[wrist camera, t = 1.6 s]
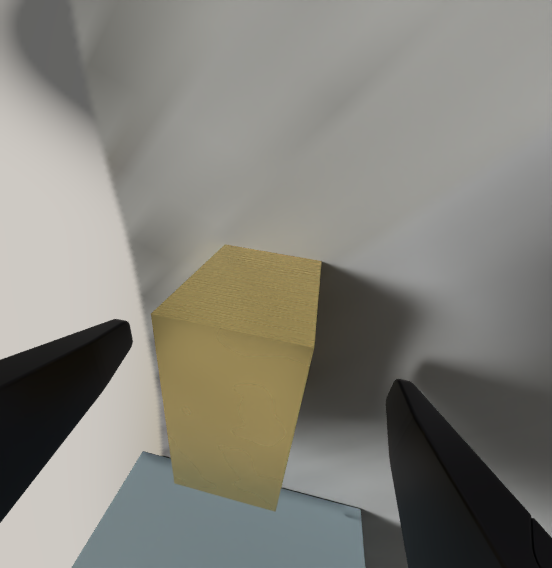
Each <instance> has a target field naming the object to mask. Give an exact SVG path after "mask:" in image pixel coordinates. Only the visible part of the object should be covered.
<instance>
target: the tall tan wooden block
mask: <svg viewBox="0 0 552 568" xmlns="http://www.w3.org/2000/svg"><path fill="white" fill-rule="evenodd" d="M320 273H321V261H317V260H311V259H306V258H300V257H294V256H288V255H283V254H277V253H271V252H265V251H259V250H254V249H248V248H242V247H236V246H230V245H224V246H223V247H222V248H221V249H220V250H219V251H218V252H217V253H216V254H214V255H213V256H212V257H211V258H210V259H209V260H208V261H207V262H206V263H205V264H204V265H203V266H202V267H201V268H199V269H198V270H197V271H196V272H195V273H194V274H193V275H192V276H191V277H190V278H189V279H188V280H187V281H186V282H184V283H183V284H182V285H181V286H180V287H179V288H178V289H177V290H176V291H175V292H174V293H173V294H172V295H171V296H170V297H168V298H167V299H166V300H165V301H164V302H163V303H162V304H161V305H160V306H159V307H158V308H157V309H156V310H155V311H153V312H152V313H151V317H152V325H153V332H154V339H155V346H156V354H157V361H158V368H159V375H160V383H161V390H162V397H163V404H164V412H165V419H166V426H167V433H168V441H169V448H170V455H171V462H172V470H173V477H174V483H175V484H178V485H182V486H185V487H189V488H192V489H196V490H200V491H203V492H207V493H210V494H214V495H217V496H221V497H224V498H228V499H232V500H235V501H239V502H242V503H246V504H249V505H253V506H257V507H260V508H264V509H267V510H271V511H274V512H276V508H277V504H278V499H279V495H280V491H281V487H282V482H283V478H284V474H285V470H286V465H287V461H288V457H289V453H290V448H291V444H292V440H293V436H294V431H295V427H296V423H297V419H298V414H299V410H300V406H301V402H302V397H303V393H304V389H305V385H306V380H307V376H308V372H309V368H310V363H311V359H312V355H313V351H314V344H315V332H316V320H317V308H318V297H319V285H320Z"/></svg>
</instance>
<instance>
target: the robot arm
mask: <svg viewBox="0 0 552 568" xmlns="http://www.w3.org/2000/svg"><path fill="white" fill-rule="evenodd" d="M132 342H133V340H132V334H131V329H130V325H129V323H128V322H127V321H124V320H119V319H113V320H110V321H108V322H105V323H102V324H99V325H96V326H94V327H91V328H88V329H85V330H83V331H80V332H77V333H74V334H71V335H68V336H66V337H63V338H60V339H57V340H54V341H52V342H49V343H46V344H43V345H41V346H38V347H35V348H32V349H29V350H27V351H24V352H21V353H18V354H15V355H13V356H10V357H7V358H4V359H1V360H0V523H1V521H2V520H3V519H4V517H5V516H6V515H7V514H8V512H9V511H10V510H11V508H12V507H13V506H14V504H15V503H16V502H17V501H18V499H19V498H20V497H21V496H22V494H23V493H24V492H25V490H26V489H27V488H28V487H29V485H30V484H31V482H32V481H33V480H34V479H35V478H36V476H37V475H38V474H39V472H40V471H41V470H42V468H43V467H44V466H45V465H46V464H47V462H48V461H49V460H50V458H51V457H52V456H53V454H54V453H55V452H56V451H57V449H58V448H59V447H60V445H61V444H62V443H63V442H64V440H65V439H66V438H67V436H68V435H69V434H70V433H71V431H72V430H73V429H74V428H75V426H76V425H77V424H78V422H79V421H80V420H81V419H82V417H83V416H84V415H85V413H86V412H87V411H88V409H89V408H90V407H91V406H92V404H93V403H94V402H95V401H96V399H97V398H98V397H99V395H100V394H101V393H102V391H103V390H104V389H105V387H106V386H107V384H108V383H109V381H110V380H111V378H112V377H113V375H114V373H115V372H116V370H117V368H118V367H119V366H120V364H121V363H122V361H123V359H124V358H125V356H126V355H127V353H128V351H129V350H130V348H131V346H132ZM386 415H387V430H388V446H389V458H390V465H391V471H392V477H393V482H394V488H395V494H396V500H397V505H398V511H399V517H400V523H401V528H402V534H403V540H404V546H405V551H406V557H407V563H408V568H552V538H551V536H550V535H549V534H548V533H547V532H546V531H545V530H544V529H543V528H542V526H541V525H540V524H539V523H538V522H537V521H536V520H535V519H534V518H531V515H530V513H529V512H528V511H527V510H526V509H525V508H524V507H523V505H522V504H521V503H520V502H519V501H518V500H517V499H516V498H515V497H514V495H513V494H512V493H511V492H510V491H509V490H508V489H507V488H506V487H505V485H504V484H503V483H502V482H501V481H500V480H499V479H498V478H497V476H496V475H495V474H494V473H493V472H492V471H491V470H490V469H489V468H488V466H487V465H486V464H485V463H484V462H483V461H482V460H481V459H480V458H479V456H478V455H477V454H476V453H475V452H474V451H473V450H472V449H471V447H470V446H469V445H468V444H467V443H466V442H465V441H464V440H463V439H462V437H461V436H460V435H459V434H458V433H457V432H456V431H455V430H454V429H453V427H452V426H451V425H450V424H449V423H448V422H447V421H446V420H445V419H444V417H443V416H442V415H441V414H440V413H439V412H438V411H437V410H436V408H435V407H434V406H433V405H432V404H431V403H430V402H429V401H428V400H427V398H426V397H425V396H424V395H423V394H422V393H421V392H420V391H419V390H418V388H417V387H416V386H415V385H414V384H413V383H412V382H410V381H407V380H402V379H396V380H395V381H394V382H393V385H392V387H391V389H390V391H389V393H388V396H387V399H386Z"/></svg>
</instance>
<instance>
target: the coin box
mask: <svg viewBox="0 0 552 568" xmlns="http://www.w3.org/2000/svg"><path fill="white" fill-rule="evenodd" d="M72 568H365V559H364V546H363V534H362V522H361V510H360V509H358V508H354V507H350V506H346V505H343V504H339V503H335V502H331V501H328V500H324V499H320V498H316V497H313V496H309V495H305V494H301V493H298V492H294V491H290V490H286V489H283V488H281V491H280V495H279V499H278V504H277V508H276V512H274V511H271V510H267V509H264V508H260V507H257V506H253V505H249V504H246V503H242V502H239V501H235V500H232V499H228V498H224V497H221V496H217V495H214V494H210V493H207V492H203V491H200V490H196V489H192V488H189V487H185V486H182V485H178V484H175V483H174V477H173V470H172V462H171V459H170V458H166V457H163V456H159V455H155V454H151V453H148V452H144V451H143V452H142V454H141V455H140V457H139V458H138V460H137V462H136V463H135V465H134V467H133V468H132V470H131V471H130V473H129V475H128V476H127V478H126V480H125V481H124V483H123V485H122V486H121V488H120V489H119V491H118V493H117V495H116V496H115V498H114V499H113V501H112V503H111V504H110V506H109V508H108V509H107V511H106V512H105V514H104V516H103V517H102V519H101V521H100V522H99V524H98V525H97V527H96V529H95V530H94V532H93V534H92V535H91V537H90V538H89V540H88V542H87V544H86V545H85V547H84V548H83V550H82V552H81V553H80V555H79V556H78V558H77V560H76V561H75V563H74V565H73V566H72Z"/></svg>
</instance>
